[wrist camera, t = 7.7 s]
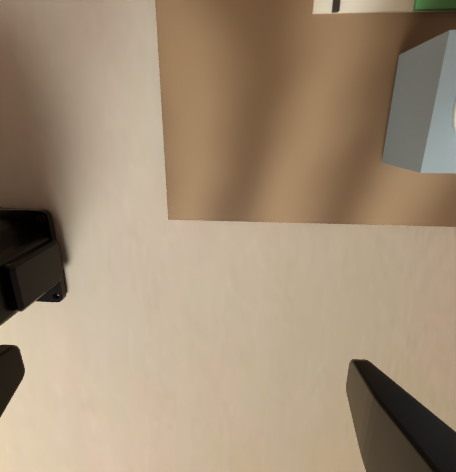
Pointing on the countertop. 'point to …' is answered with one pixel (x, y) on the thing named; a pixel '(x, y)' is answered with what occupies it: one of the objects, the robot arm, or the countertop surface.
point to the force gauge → (424, 108)
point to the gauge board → (292, 111)
